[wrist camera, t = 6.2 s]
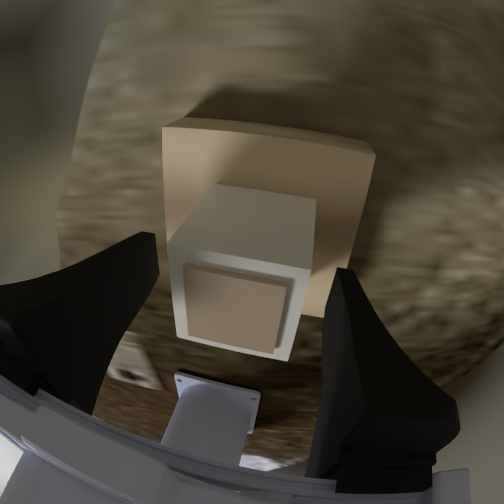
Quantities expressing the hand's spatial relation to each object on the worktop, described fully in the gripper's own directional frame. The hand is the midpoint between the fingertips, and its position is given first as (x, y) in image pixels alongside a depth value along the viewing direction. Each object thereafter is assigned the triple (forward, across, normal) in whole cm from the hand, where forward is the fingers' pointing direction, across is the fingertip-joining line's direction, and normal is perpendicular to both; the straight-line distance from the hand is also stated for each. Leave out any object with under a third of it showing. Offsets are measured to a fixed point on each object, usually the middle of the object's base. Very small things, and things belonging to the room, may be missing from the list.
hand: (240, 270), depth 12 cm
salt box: (+3, 0, 0) cm, 3 cm away
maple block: (+6, 0, 0) cm, 6 cm away
